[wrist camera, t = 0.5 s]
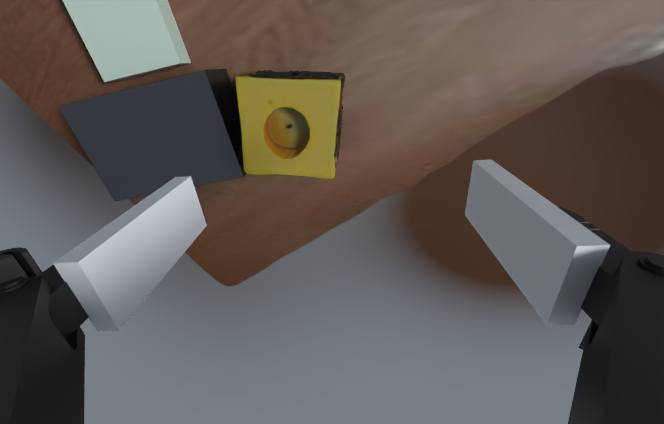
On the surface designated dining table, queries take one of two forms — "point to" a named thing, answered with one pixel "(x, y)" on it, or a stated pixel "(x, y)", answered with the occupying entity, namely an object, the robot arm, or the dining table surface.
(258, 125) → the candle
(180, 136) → the riser
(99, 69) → the mint green panel
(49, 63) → the dining table surface
